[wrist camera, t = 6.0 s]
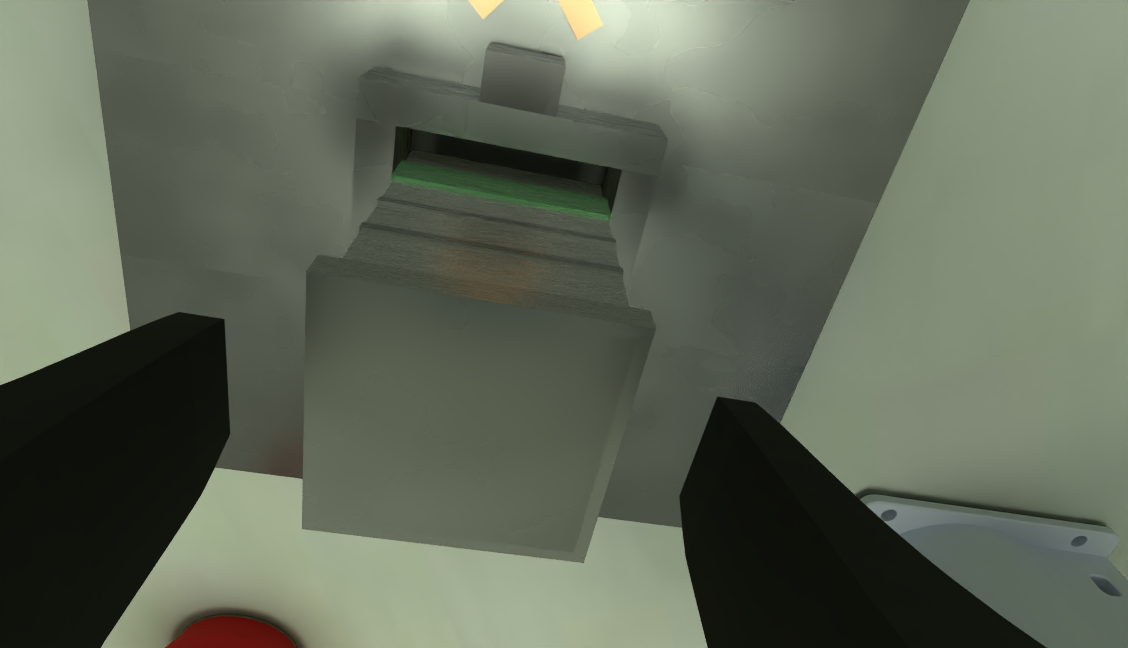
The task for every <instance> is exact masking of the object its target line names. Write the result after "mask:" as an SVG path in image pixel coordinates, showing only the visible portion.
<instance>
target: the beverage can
mask: <svg viewBox="0 0 1128 648" xmlns="http://www.w3.org/2000/svg"><path fill="white" fill-rule="evenodd" d="M165 648H297V646H296V644H295V643H294V641H293V640H292V639H291V638H290V637H289V636H288V635H287V634H286V633H285V632H284V631H282V630H281V629H279V628H278V627H276V626H274V625H272V624H270V623H268V622H266V621H263V620H260V619H257V618H253V617H249V616H243V615H234V614H222V615H213V616H208V617H205V618H202V619H199V620H197V621H195V622H193V623H192V624H190V625H189V626H188V627H187V628H186V629H185V630H184V631H183V633H182V635H181V636H179V637H178V638H177V639H176V640H174V641H173V642H172V643H170V644H169V645H168V646H167V647H165Z"/></svg>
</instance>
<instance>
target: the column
mask: <svg viewBox="0 0 1128 648" xmlns="http://www.w3.org/2000/svg"><path fill="white" fill-rule="evenodd" d="M610 219H611V213H610V209H609V205H608V201H607V199H606V198H603V194H602V190H601V186H600V185H597V184H591V183H586V182H581V181H576V180H570V179H565V178H560V177H555V176H549V175H544V174H539V173H534V172H528V171H523V170H518V169H513V168H507V167H502V166H497V165H492V164H486V163H481V162H476V161H471V160H465V159H460V158H455V157H450V156H444V155H439V154H434V153H429V152H423V151H418V150H412V152H411V153H410V155H409V156H408V158H407V160H406V161H404V160H402V161H401V162H400V164H399V165H398V166H397V168H396V169H395V171H394V172H393V174H392V177H391V184H390V186H389V187H388V189H387V190H386V192H385V193H384V195H383V196H379V198H378V199H377V206H376V207H375V209H374V210H373V212H372V213H371V215H370V216H369V218H368V219H367V221H366V222H362V223H361V225H360V226H359V233H358V235H357V236H356V238H355V239H354V241H353V242H352V244H351V245H350V247H349V249H348V250H347V252H346V253H345V255H344V256H343V258H336V257H330V256H324V255H318V256H317V257H316V258H315V260H314V261H313V262H312V264H311V265H310V266H309V268H308V269H307V270H306V311H305V374H304V437H303V501H302V529H306V530H315V531H323V532H331V533H339V534H348V535H356V536H364V537H373V538H381V539H389V540H398V541H406V542H414V543H423V544H431V545H439V546H448V547H456V548H464V549H473V550H481V551H489V552H498V553H506V554H514V555H523V556H531V557H539V558H548V559H556V560H564V561H573V562H581V563H584V560H585V557H586V554H587V550H588V547H589V544H590V541H591V537H592V534H593V531H594V528H595V524H596V521H597V518H598V515H599V512H600V508H601V505H602V502H603V499H604V495H605V492H606V489H607V486H608V483H609V479H610V476H611V473H612V470H613V466H614V463H615V460H616V457H617V453H618V450H619V447H620V444H621V441H622V437H623V434H624V431H625V428H626V424H627V421H628V418H629V415H630V411H631V408H632V405H633V402H634V399H635V395H636V392H637V389H638V386H639V382H640V379H641V376H642V373H643V369H644V366H645V363H646V360H647V357H648V353H649V350H650V347H651V344H652V340H653V337H654V334H655V331H656V327H655V324H654V320H653V317H652V313H651V311H650V310H644V309H639V308H633V307H629V303H628V299H627V295H626V291H625V286H624V282H623V274H624V271H623V267H620V266H619V261H618V257H617V253H616V249H615V247H616V239H614V238H613V236H612V232H611V228H610V224H609V223H610Z"/></svg>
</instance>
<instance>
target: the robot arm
mask: <svg viewBox="0 0 1128 648" xmlns="http://www.w3.org/2000/svg"><path fill="white" fill-rule="evenodd" d="M229 436H230V418H229V398H228V377H227V357H226V337H225V319H221V318H215V317H209V316H202V315H196V314H190V313H183V312H177V313H174V314H171V315H168V316H165V317H163V318H160V319H157V320H155V321H152V322H150V323H147V324H145V325H143V326H140V327H138V328H135V329H133V330H131V331H128V332H126V333H124V334H121V335H119V336H117V337H114V338H112V339H110V340H108V341H105V342H103V343H101V344H98V345H96V346H94V347H91V348H89V349H87V350H84V351H82V352H80V353H77V354H75V355H73V356H70V357H68V358H66V359H63V360H61V361H59V362H56V363H54V364H51V365H49V366H47V367H44V368H42V369H40V370H37V371H35V372H33V373H30V374H28V375H25V376H23V377H20V378H18V379H15V380H13V381H10V382H8V383H5V384H2V385H0V648H101V646H102V645H103V643H104V641H105V640H106V638H107V637H108V635H109V634H110V632H111V631H112V629H113V628H114V626H115V625H116V623H117V622H118V620H119V619H120V617H121V616H122V614H123V613H124V611H125V610H126V608H127V607H128V605H129V604H130V602H131V601H132V599H133V598H134V596H135V595H136V593H137V592H138V590H139V589H140V587H141V586H142V584H143V583H144V581H145V580H146V578H147V577H148V575H149V574H150V572H151V571H152V569H153V568H154V566H155V565H156V563H157V562H158V560H159V559H160V557H161V556H162V554H163V553H164V551H165V550H166V548H167V547H168V545H169V544H170V542H171V541H172V539H173V538H174V536H175V535H176V533H177V532H178V530H179V529H180V527H181V525H182V524H183V522H184V521H185V519H186V518H187V516H188V515H189V513H190V512H191V510H192V509H193V507H194V505H195V504H196V502H197V501H198V499H199V498H200V496H201V494H202V492H203V490H204V488H205V486H206V484H207V482H208V480H209V478H210V476H211V474H212V472H213V470H214V468H215V466H216V464H217V462H218V460H219V458H220V455H221V453H222V451H223V449H224V447H225V445H226V442H227V440H228V438H229ZM679 499H680V510H681V521H682V531H683V539H684V547H685V555H686V560H687V565H688V569H689V573H690V577H691V582H692V586H693V590H694V594H695V598H696V602H697V606H698V610H699V614H700V618H701V622H702V626H703V630H704V634H705V638H706V642H707V646H708V648H1128V581H1127V580H1126V578H1125V577H1124V576H1123V575H1122V574H1121V573H1120V572H1119V571H1118V570H1117V569H1116V568H1115V567H1114V565H1113V564H1112V563H1111V562H1110V561H1109V560H1108V559H1107V557H1108V556H1109V555H1110V554H1111V553H1112V552H1113V550H1114V549H1115V548H1116V547H1117V545H1118V544H1119V537H1118V536H1117V534H1116V533H1115V532H1114V531H1113V530H1112V529H1111V528H1108V527H1105V526H1097V525H1090V524H1083V523H1076V522H1069V521H1062V520H1055V519H1047V518H1040V517H1033V516H1026V515H1019V514H1012V513H1005V512H998V511H990V510H983V509H976V508H969V507H962V506H955V505H948V504H941V503H933V502H926V501H919V500H912V499H905V498H898V497H891V496H883V495H867V496H864V497H863V498H861V499H859V498H857V497H856V496H855V495H854V494H853V493H852V492H851V491H850V490H849V489H848V488H847V487H846V486H845V485H844V484H842V483H841V482H840V481H839V480H838V479H837V478H836V477H835V476H834V475H833V474H832V473H831V472H830V471H829V470H828V469H827V468H826V467H825V466H824V465H823V464H821V463H820V462H819V461H818V460H817V459H816V458H815V457H814V456H813V455H812V454H811V453H810V452H809V451H808V450H807V449H806V448H805V447H804V446H803V445H802V444H801V443H800V442H799V441H798V440H797V439H796V438H794V437H793V436H792V435H791V434H790V433H789V432H788V431H787V430H786V429H785V428H784V427H783V426H782V425H781V424H780V423H779V422H778V421H776V420H775V419H774V418H773V417H772V416H771V415H770V414H769V413H768V412H766V411H765V410H764V409H763V408H762V407H760V406H759V405H758V404H757V403H755V402H749V401H743V400H737V399H730V398H724V397H718V396H717V398H716V401H715V403H714V406H713V409H712V411H711V414H710V417H709V419H708V422H707V424H706V427H705V430H704V432H703V435H702V438H701V440H700V443H699V445H698V448H697V451H696V453H695V456H694V459H693V461H692V464H691V466H690V469H689V472H688V474H687V477H686V480H685V482H684V485H683V487H682V490H681V493H680V495H679ZM886 510H888V511H886ZM884 511H886V512H884Z"/></svg>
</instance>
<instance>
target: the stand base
mask: <svg viewBox="0 0 1128 648" xmlns="http://www.w3.org/2000/svg"><path fill="white" fill-rule="evenodd" d="M87 1H88V8H89V16H90V24H91V31H92V39H93V47H94V54H95V62H96V69H97V77H98V85H99V92H100V100H101V108H102V115H103V123H104V131H105V138H106V146H107V154H108V161H109V169H110V177H111V184H112V192H113V200H114V207H115V215H116V223H117V230H118V238H119V246H120V253H121V261H122V269H123V276H124V284H125V291H126V299H127V307H128V314H129V322H130V330H133V329H135V328H138V327H140V326H143V325H145V324H147V323H150V322H152V321H155V320H157V319H160V318H163V317H165V316H168V315H171V314H174V313H177V312H183V313H190V314H196V315H202V316H209V317H215V318H221V319H225V337H226V357H227V377H228V398H229V418H230V436H229V438H228V440H227V442H226V445H225V447H224V449H223V451H222V453H221V455H220V458H219V460H218V462H217V464H216V466H215V467H216V468H224V469H232V470H239V471H247V472H255V473H263V474H270V475H278V476H286V477H294V478H301V479H303V437H304V374H305V311H306V270H307V269H308V268H309V266H310V265H311V264H312V262H313V261H314V260H315V258H316V257H317V256H318V255H324V256H330V257H336V258H343V256H344V255H345V253H346V252H347V250H348V249H349V247H350V245H351V244H352V242H353V241H354V239H355V238H356V236H357V235H358V233H359V226H360V225H361V223H362V222H366V221H367V219H368V218H369V216H370V215H371V213H372V212H373V210H374V209H375V207H376V206H377V199H378V198H379V196H383V195H384V193H385V192H386V190H387V189H388V187H389V186H390V184H391V177H392V174H393V172H394V171H395V169H396V168H397V166H398V165H399V164H400V162H401V161H402V160H404V161H406V160H407V158H408V156H409V154H410V143H411V132H412V129H416V130H421V131H426V132H431V133H436V134H442V135H447V136H452V137H457V138H462V139H467V140H473V141H478V142H483V143H488V144H493V145H498V146H503V147H509V148H514V149H519V150H524V151H529V152H534V153H540V154H545V155H550V156H555V157H560V158H565V159H571V160H576V161H581V162H586V163H591V164H596V165H601V166H607V171H606V175H605V180H604V184H603V188H602V194H603V198H606V199H607V201H608V205H609V209H610V213H611V219H610V223H609V224H610V228H611V232H612V236H613V238H614V239H616V247H615V249H616V253H617V257H618V261H619V266H620V267H623V271H624V274H623V282H624V286H625V291H626V295H627V299H628V303H629V307H633V308H639V309H644V310H650V311H651V313H652V317H653V320H654V324H655V327H656V331H655V334H654V337H653V340H652V344H651V347H650V350H649V353H648V357H647V360H646V363H645V366H644V369H643V373H642V376H641V379H640V382H639V386H638V389H637V392H636V395H635V399H634V402H633V405H632V408H631V411H630V415H629V418H628V421H627V424H626V428H625V431H624V434H623V437H622V441H621V444H620V447H619V450H618V453H617V457H616V460H615V463H614V466H613V470H612V473H611V476H610V479H609V483H608V486H607V489H606V492H605V495H604V499H603V502H602V505H601V508H600V512H599V515H598V517H604V518H612V519H619V520H627V521H635V522H643V523H650V524H658V525H666V526H674V527H681V528H682V521H681V510H680V499H679V495H680V493H681V490H682V487H683V485H684V482H685V480H686V477H687V474H688V472H689V469H690V466H691V464H692V461H693V459H694V456H695V453H696V451H697V448H698V445H699V443H700V440H701V438H702V435H703V432H704V430H705V427H706V424H707V422H708V419H709V417H710V414H711V411H712V409H713V406H714V403H715V401H716V398H717V396H718V397H724V398H730V399H737V400H743V401H749V402H755V403H757V404H758V405H759V406H760V407H762V408H763V409H764V410H765V411H766V412H768V413H769V414H770V415H771V416H772V417H773V418H774V419H775V420H776V421H778V422H779V423H780V422H781V420H782V418H783V415H784V413H785V411H786V409H787V407H788V404H789V402H790V400H791V398H792V395H793V393H794V391H795V389H796V387H797V384H798V382H799V380H800V378H801V375H802V373H803V371H804V369H805V366H806V364H807V362H808V360H809V358H810V355H811V353H812V351H813V349H814V346H815V344H816V342H817V340H818V338H819V335H820V333H821V331H822V329H823V326H824V324H825V322H826V320H827V317H828V315H829V313H830V311H831V309H832V306H833V304H834V302H835V300H836V297H837V295H838V293H839V291H840V288H841V286H842V284H843V282H844V280H845V277H846V275H847V273H848V271H849V268H850V266H851V264H852V262H853V260H854V257H855V255H856V253H857V251H858V248H859V246H860V244H861V242H862V239H863V237H864V235H865V233H866V231H867V228H868V226H869V224H870V222H871V219H872V217H873V215H874V213H875V211H876V208H877V206H878V204H879V202H880V199H881V197H882V195H883V193H884V190H885V188H886V186H887V184H888V182H889V179H890V177H891V175H892V173H893V170H894V168H895V166H896V164H897V161H898V159H899V157H900V155H901V153H902V150H903V148H904V146H905V144H906V141H907V139H908V137H909V135H910V133H911V130H912V128H913V126H914V124H915V121H916V119H917V117H918V115H919V112H920V110H921V108H922V106H923V104H924V101H925V99H926V97H927V95H928V92H929V90H930V88H931V86H932V84H933V81H934V79H935V77H936V75H937V72H938V70H939V68H940V66H941V63H942V61H943V59H944V57H945V55H946V52H947V50H948V48H949V46H950V43H951V41H952V39H953V37H954V34H955V32H956V30H957V28H958V26H959V23H960V21H961V19H962V17H963V14H964V12H965V10H966V8H967V6H968V3H969V1H970V0H87Z"/></svg>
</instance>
